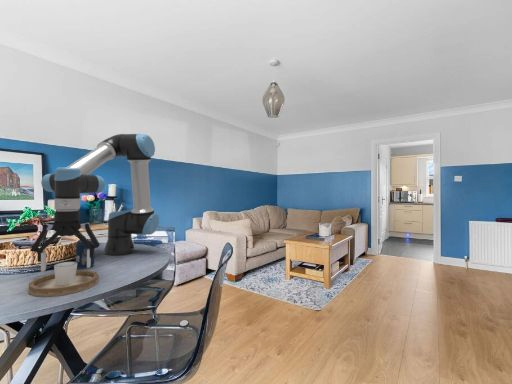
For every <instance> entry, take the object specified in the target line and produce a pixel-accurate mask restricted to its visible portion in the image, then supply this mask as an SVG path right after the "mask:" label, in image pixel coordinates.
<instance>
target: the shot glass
mask: <svg viewBox="0 0 512 384" xmlns="http://www.w3.org/2000/svg"><path fill="white" fill-rule="evenodd" d="M77 269H78V268H77V262H76V261H64V262H58V263H56V264H54V265H53V270H54V273H55V282H56V285H57V286H65V285H70V284H73V283H74V282H75V278H76V271H77Z"/></svg>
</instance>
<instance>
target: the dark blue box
mask: <svg viewBox="0 0 512 384" xmlns="http://www.w3.org/2000/svg"><path fill="white" fill-rule="evenodd" d="M87 239H88V240H89V241H90V242H91V243H92V244H93V242H92V240H91V239H90V238H87ZM75 244H76V246H75V248H76V249H75V262H77V269H79V270H80V269H81V270H82V269H83V270H85V269H90V268H92V267H93V266H94V264H95V256H94V257H93V258H91V266H90V267H89V268H87V250H88V249H89V248H88V247H87V246H86V245H85V244H84V243H83V242H82V241H81V240H80V239H79V240H77V243H75ZM93 245H94V244H93Z"/></svg>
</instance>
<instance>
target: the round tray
mask: <svg viewBox="0 0 512 384" xmlns="http://www.w3.org/2000/svg"><path fill="white" fill-rule="evenodd" d="M99 278H100V277H99V274H98V272H97V271H94V270H93V271H92V270H85V269H83V270H82V269H81V270H80V269H78V270H76V278H75V282H74V283H73V284H70V285H65V286H57V285H56V282H55V272H54V273H50V274H47V275H46V274H45V275H43V276H40V277H37V278H34V279H33V280H32V281H30V282H29V283H28V294H29V295H31V296H34V297H42V298H43V297H48V298H49V297H59V296H66V295H70V294H76V293H79V292H83V291H86V290H88V289H91V288H92V287H94V286H96V285H97V284H98V283H99Z"/></svg>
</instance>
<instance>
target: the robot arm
mask: <svg viewBox="0 0 512 384" xmlns="http://www.w3.org/2000/svg"><path fill="white" fill-rule="evenodd" d="M155 152H156V146H155V142H154V140H153V139H152V137H151V136H150V135H148V134H146V133H145V134H144V133H120V134H115V135H112V136H110V137H108V138H106V139H104V140H103V141H102V140H101V141H100V142H99V143H97V145H96V148H94V149H92V150H90V151H89V152H87V153H86V154H85V155H83V156H81V157H80V158H78V159H77V160H75V161H74V162H72V163H71V164H69V165H68V166H66V167H65V166H64V167H63V166H59V167H56V168H55V170H54V173H53V172H52V173H47V174H45V175H43V176H42V179H41V181H40V182H41V187H42V188H43V189H44V191H45V192H49V193H54V207H53V208H54V210H55V211H54V212H53V213H54V217H53V222H54V223H53V224H49V223H45V224H43V225H42V229H41V232H40V234H39V235H38V237H37V239H36V240H35V242H34V243H33V245H32V246H31V248H30V252H33V253H34V252H35V253H37V259H36V260H37V263H40V272H45V271H46V270H47V251H45V249H47V248H48V247H49V245H50V244H52V243H53V242H54V240H56V239H57V238H58V237H72V236H75V237H76V238H77V239H79V240H81V241H82V242H83V243H84V244H85V245H86V246H87V247H88V248H89V249H88V250H87V268H86V269H90V268H91V267H90V266H91V258H93V257H94V258H95V249H97V248H99V246H100V245H101V244H100V241H98V239H97V237H96V235H95V234H94V232H93V230H92V229H91V223H90V222H86V223H81V221H80V220H81V211H80V209H81V194H93V195H94V194H99V193H101V192H102V191H104V189H105V187H106V182H105V179H104V178H103V177H102V176H100V175H96V174H92V173H93V172H95V170H97V169H98V168H100V166H102V165H103V164H105V163H106V162H107V161H111V160H114V159H116V158H120V157H126V161H127V162H129V164H130V175H131V177H130V178H131V189H132V190H131V191H132V201H133V202H132V203H133V204H132V205H133V208H132V209H128V210H119V211H118V210H117V211H110V212H109V214H108V219H107V221H108V223H107V225H108V226H107V241H106V243H105V246H104V249H103V254H104V255H106V256H122V255H128V254H132V253H134V252H135V245H134V242H133V239H132V235H142V236H143V235H144V236H146V235H148V236H149V235H153V234H155V232H156V231H157V229H158V227H159V224H160V217H159V215H158V214H157V213H156V212H155V209H154V208H153V207H152V206H151V205H152V204H151V190H150V185H151V184H150V174H149V173H150V172H149V163H150V162H151V161H152V157H153V156H155ZM52 229H53V230H54V233H53V234H52V235H51V236H50V237H49V238H48V239H47V240H46V241H45V242H44V243H43V244H42V242H43V241H44V239H45V237H46V235H47V234H48V232H49V231H51V230H52ZM80 229H83V230H85V232H86V234H87V236H88V237H89V238H87V237H85V236H84V235H83V233H82V232H81V231H80ZM88 239H91V240H92V242H93V244H94V245H93V244H92V243H91V242H90V241H89V240H88ZM41 244H42V245H41ZM40 245H41V246H40ZM89 267H90V268H89Z"/></svg>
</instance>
